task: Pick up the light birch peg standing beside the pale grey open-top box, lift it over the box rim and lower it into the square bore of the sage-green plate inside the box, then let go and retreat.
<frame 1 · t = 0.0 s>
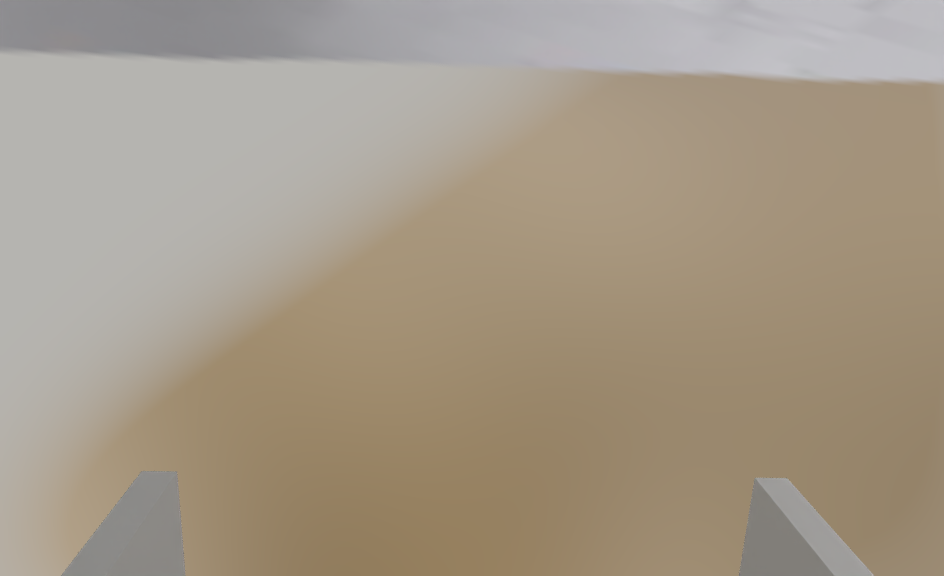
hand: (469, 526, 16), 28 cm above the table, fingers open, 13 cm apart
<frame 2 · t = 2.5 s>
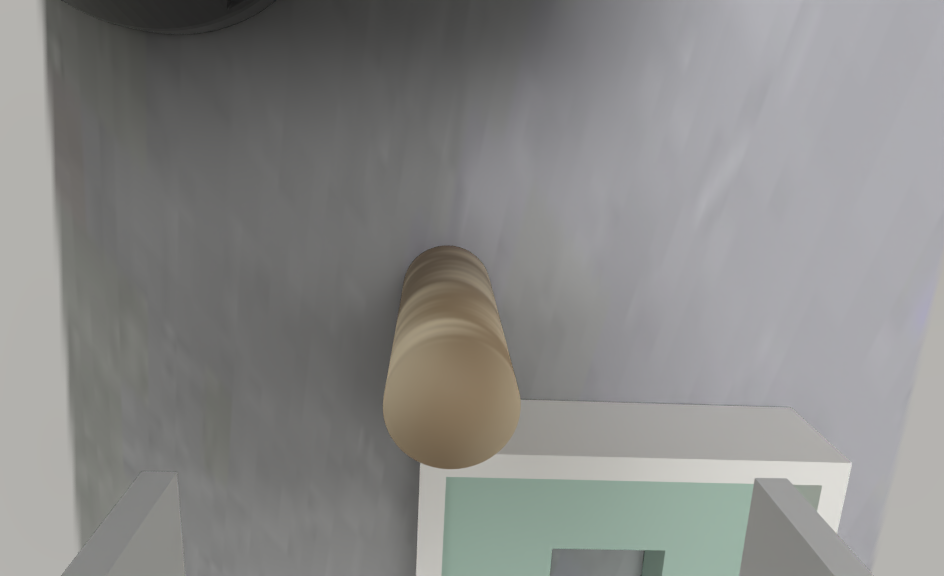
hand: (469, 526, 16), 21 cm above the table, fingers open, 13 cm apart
peg: (447, 288, 36), on the table
bore box: (591, 562, 41), on the table
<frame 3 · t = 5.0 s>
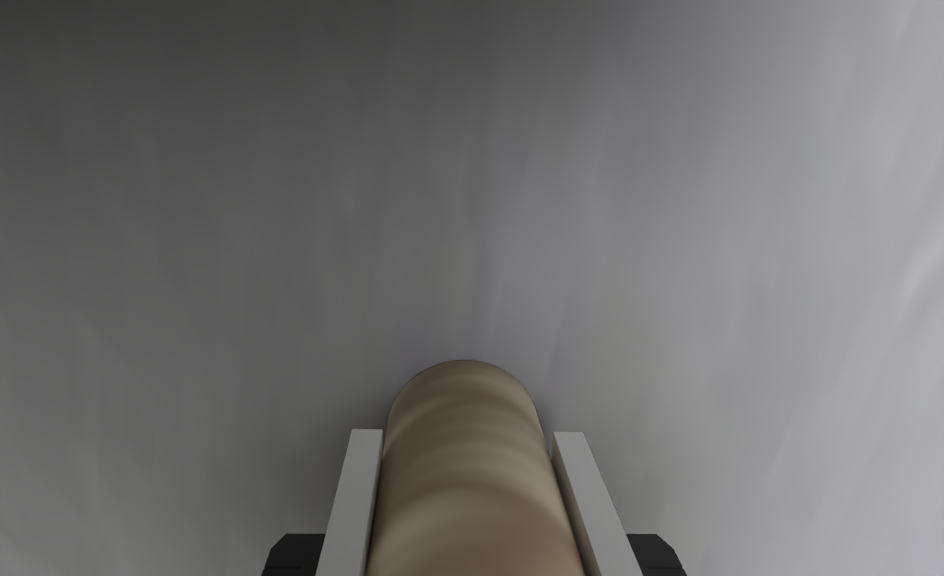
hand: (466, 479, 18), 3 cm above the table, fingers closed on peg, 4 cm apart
peg: (463, 430, 21), on the table, touching gripper
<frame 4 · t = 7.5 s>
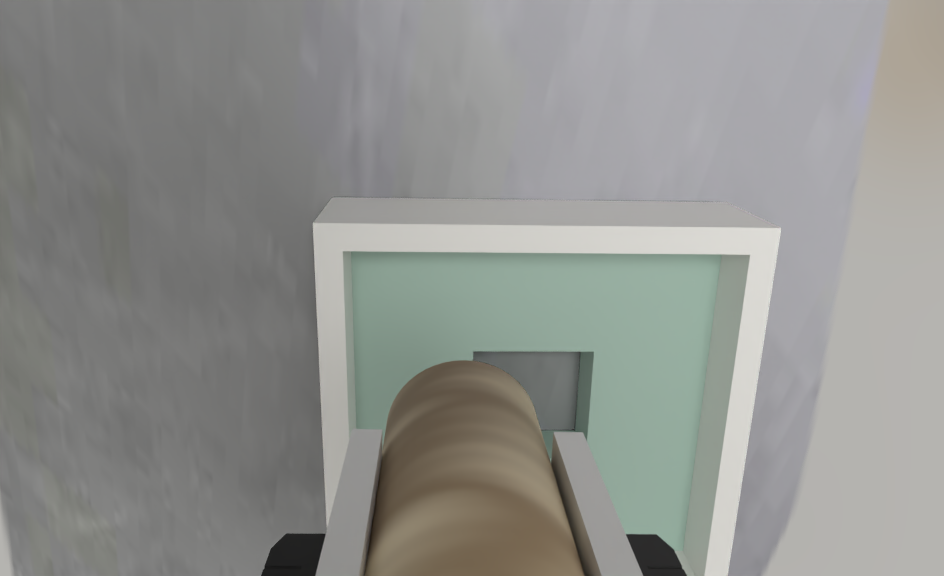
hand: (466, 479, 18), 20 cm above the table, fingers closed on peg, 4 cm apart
peg: (462, 431, 21), point 17 cm above the table, touching gripper
bore box: (524, 381, 39), on the table
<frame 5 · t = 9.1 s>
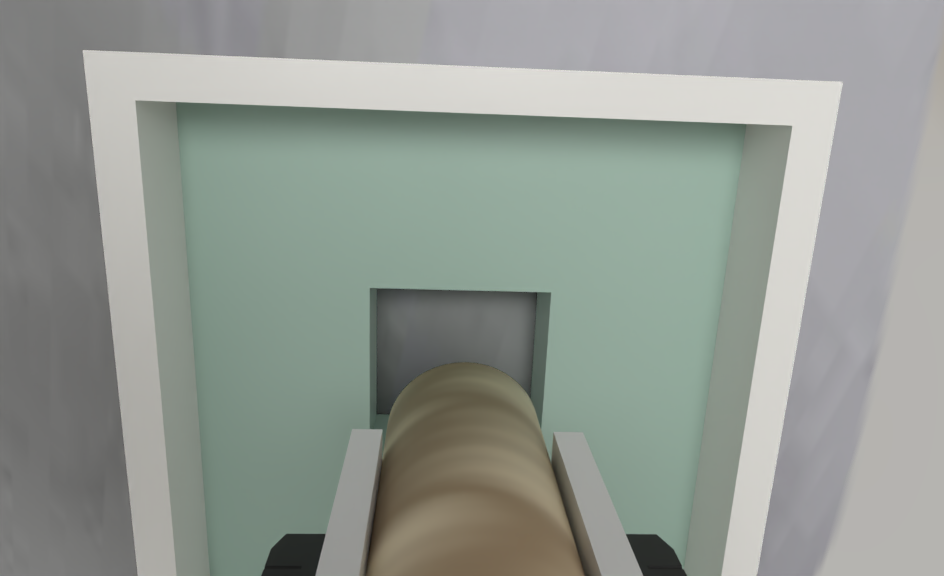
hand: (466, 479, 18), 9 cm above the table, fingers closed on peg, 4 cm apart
peg: (463, 433, 21), point 7 cm above the table, touching gripper
bore box: (455, 343, 27), on the table
when the fingers open (5 cm above the table, at t = 10.4 s): peg stays where it is, resting in bore box.
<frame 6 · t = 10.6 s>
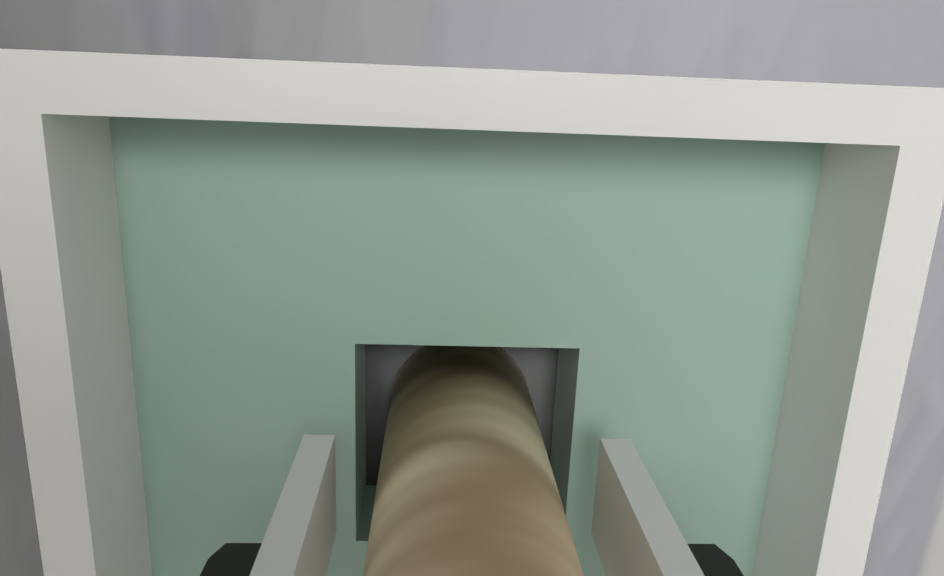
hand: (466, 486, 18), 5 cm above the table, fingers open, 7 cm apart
peg: (459, 402, 23), resting in bore box
bore box: (460, 402, 23), on the table
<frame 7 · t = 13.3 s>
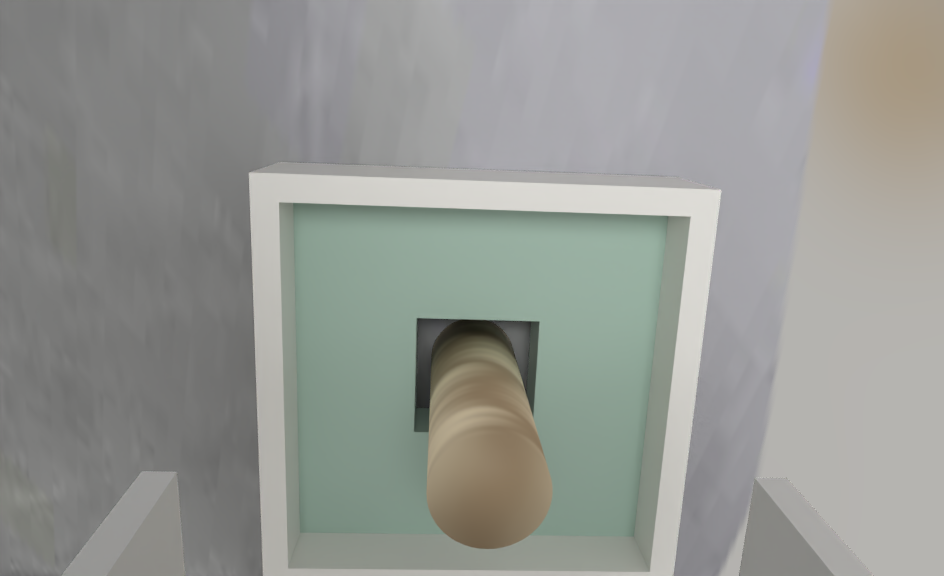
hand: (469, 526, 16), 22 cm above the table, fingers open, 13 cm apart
peg: (472, 357, 38), resting in bore box
bore box: (473, 357, 38), on the table
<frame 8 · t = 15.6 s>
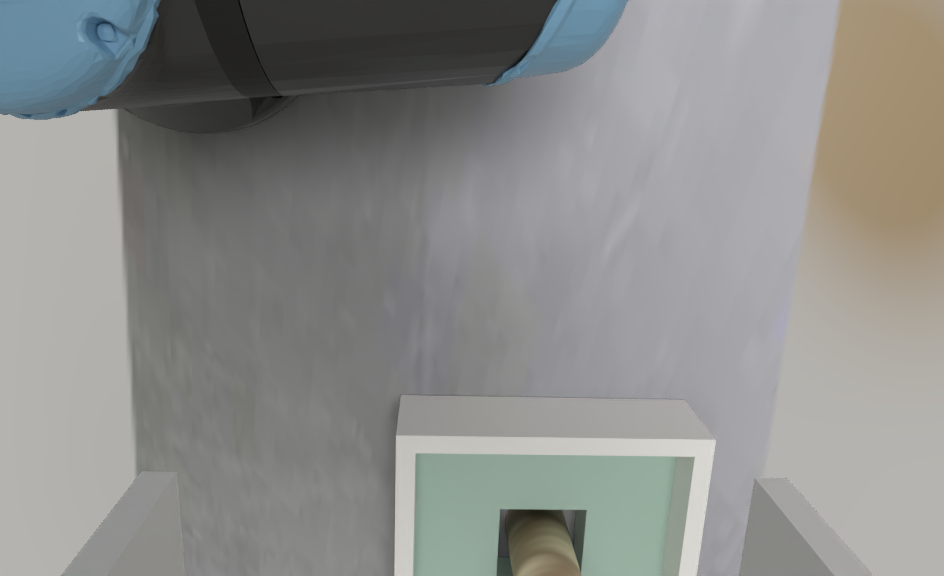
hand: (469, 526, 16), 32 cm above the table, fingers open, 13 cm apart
peg: (534, 522, 53), resting in bore box
bore box: (535, 522, 53), on the table
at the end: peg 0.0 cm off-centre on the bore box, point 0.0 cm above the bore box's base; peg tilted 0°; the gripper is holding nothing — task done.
